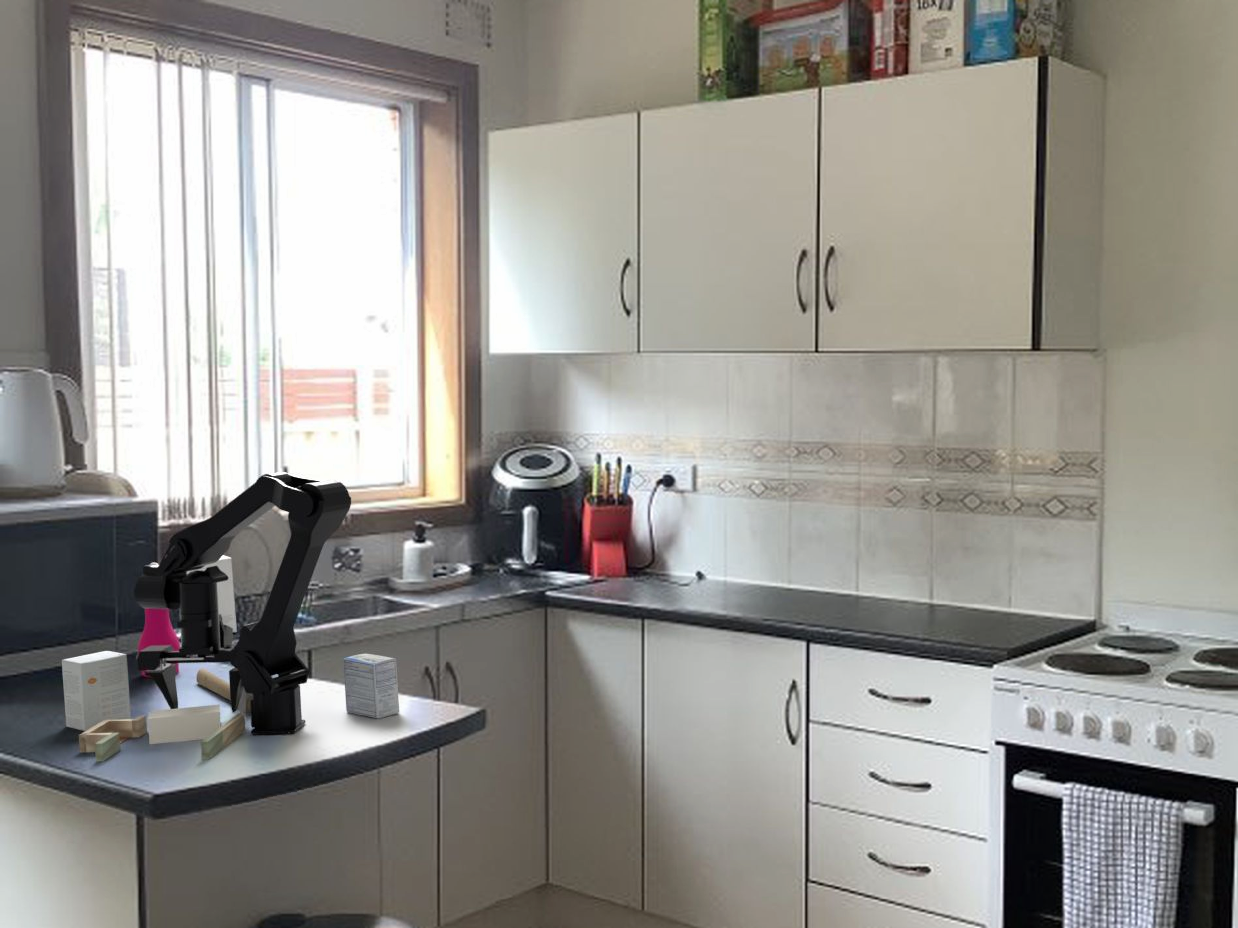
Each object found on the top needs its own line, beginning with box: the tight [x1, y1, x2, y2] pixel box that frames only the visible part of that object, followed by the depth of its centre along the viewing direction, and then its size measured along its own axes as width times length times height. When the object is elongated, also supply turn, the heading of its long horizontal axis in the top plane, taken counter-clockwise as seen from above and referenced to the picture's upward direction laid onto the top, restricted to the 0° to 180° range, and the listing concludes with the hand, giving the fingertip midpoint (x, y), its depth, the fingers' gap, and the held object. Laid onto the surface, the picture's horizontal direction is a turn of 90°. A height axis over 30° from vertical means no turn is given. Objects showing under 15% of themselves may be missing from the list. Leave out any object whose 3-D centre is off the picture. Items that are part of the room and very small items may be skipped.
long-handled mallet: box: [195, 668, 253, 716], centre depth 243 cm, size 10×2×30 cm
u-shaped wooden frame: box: [78, 713, 247, 762], centre depth 213 cm, size 20×16×2 cm
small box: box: [61, 650, 132, 732], centre depth 228 cm, size 8×6×10 cm
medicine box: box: [343, 653, 400, 720], centre depth 228 cm, size 8×4×9 cm, turn 47°
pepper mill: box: [137, 561, 181, 679], centre depth 264 cm, size 7×7×20 cm
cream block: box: [147, 704, 222, 745], centre depth 218 cm, size 10×5×4 cm, turn 105°
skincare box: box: [187, 554, 238, 633], centre depth 303 cm, size 8×7×16 cm
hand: (205, 712), depth 227 cm, fingers open, 9 cm apart
